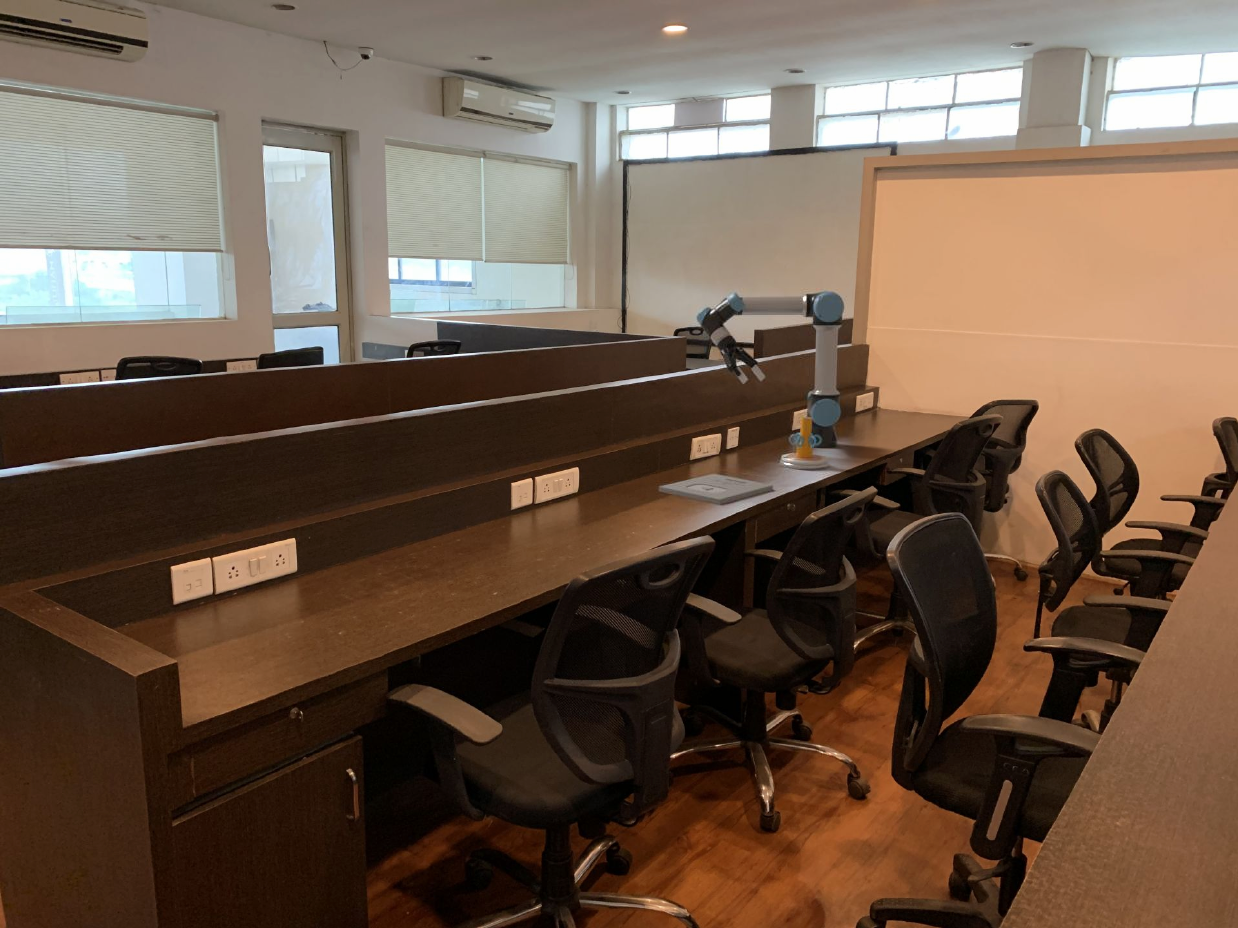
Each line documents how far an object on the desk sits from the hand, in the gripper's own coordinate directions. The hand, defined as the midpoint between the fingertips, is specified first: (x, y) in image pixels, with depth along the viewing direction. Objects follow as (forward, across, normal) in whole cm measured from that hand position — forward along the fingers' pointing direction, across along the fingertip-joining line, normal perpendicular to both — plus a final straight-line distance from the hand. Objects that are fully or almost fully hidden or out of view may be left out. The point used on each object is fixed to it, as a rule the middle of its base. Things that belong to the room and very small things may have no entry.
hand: (754, 380), depth 370 cm
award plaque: (+40, +68, -2) cm, 79 cm away
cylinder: (+38, +8, +1) cm, 39 cm away
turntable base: (+41, +9, -1) cm, 42 cm away
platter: (+40, +9, 0) cm, 41 cm away
